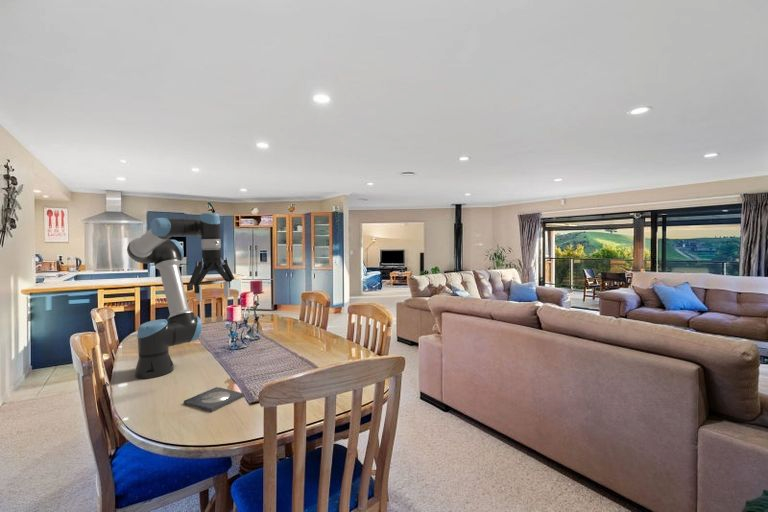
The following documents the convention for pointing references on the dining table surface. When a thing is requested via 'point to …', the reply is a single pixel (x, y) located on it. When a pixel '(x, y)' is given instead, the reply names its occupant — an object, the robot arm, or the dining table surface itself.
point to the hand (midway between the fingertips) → (213, 298)
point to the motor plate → (214, 399)
